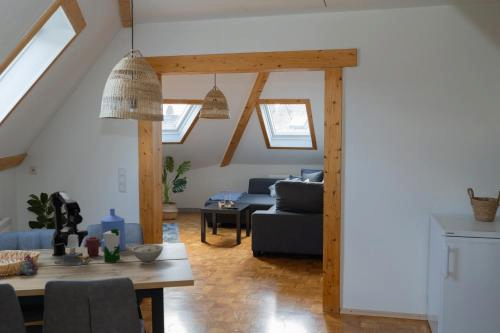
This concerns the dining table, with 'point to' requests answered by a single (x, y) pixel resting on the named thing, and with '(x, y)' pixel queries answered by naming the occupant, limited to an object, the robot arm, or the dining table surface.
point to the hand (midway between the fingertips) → (72, 246)
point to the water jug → (114, 227)
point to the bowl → (147, 253)
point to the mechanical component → (93, 246)
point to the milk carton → (111, 245)
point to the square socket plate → (74, 259)
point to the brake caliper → (28, 266)
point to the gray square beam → (72, 251)
